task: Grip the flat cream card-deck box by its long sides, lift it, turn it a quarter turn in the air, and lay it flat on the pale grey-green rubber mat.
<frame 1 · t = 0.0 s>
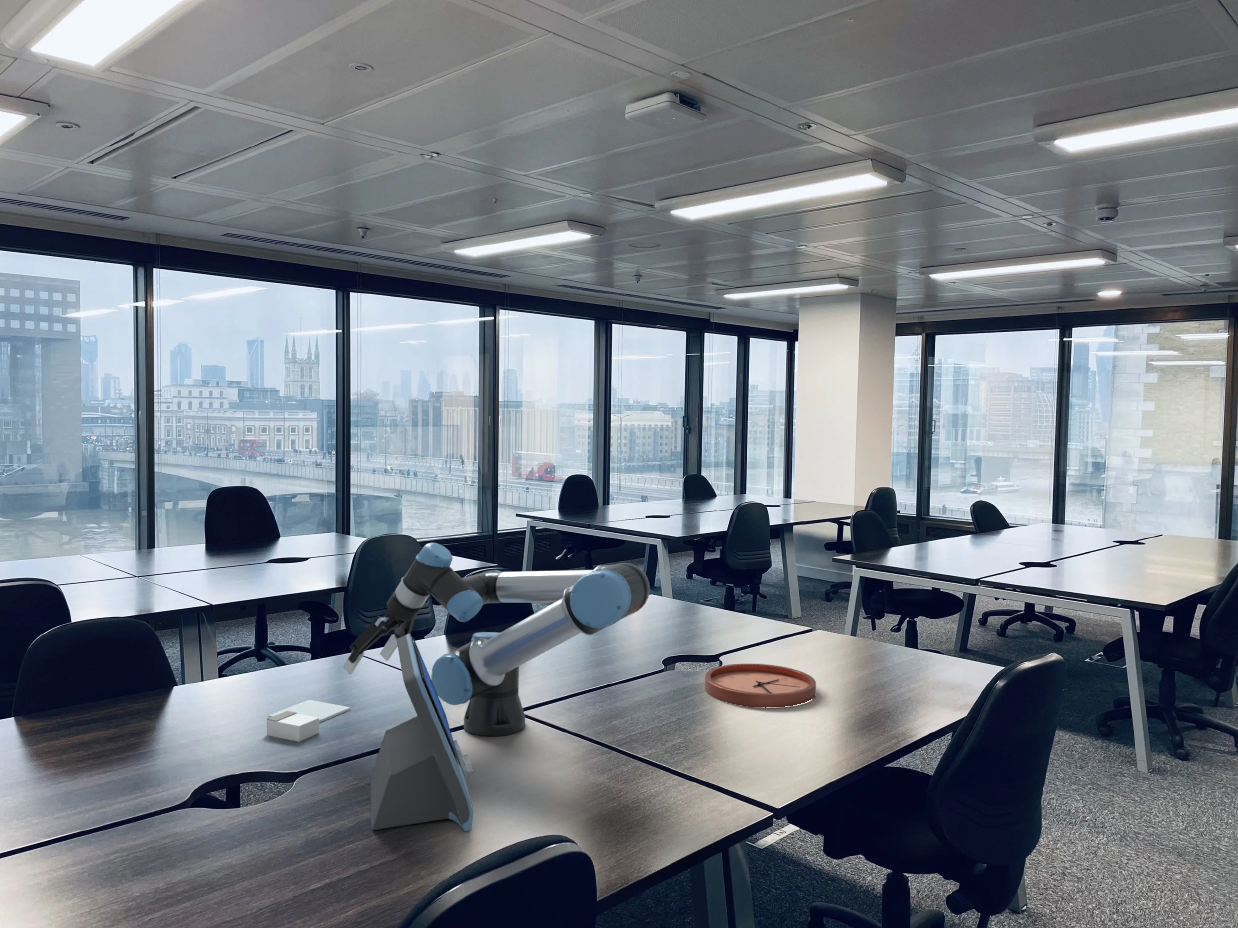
hand: (365, 663, 213), 15 cm above the table, tool tilted 35°, fingers open, 13 cm apart
card deck box: (293, 735, 206), on the table
touchscreen device: (421, 798, 172), on the table
clock: (759, 692, 247), on the table
mat: (310, 713, 221), on the table
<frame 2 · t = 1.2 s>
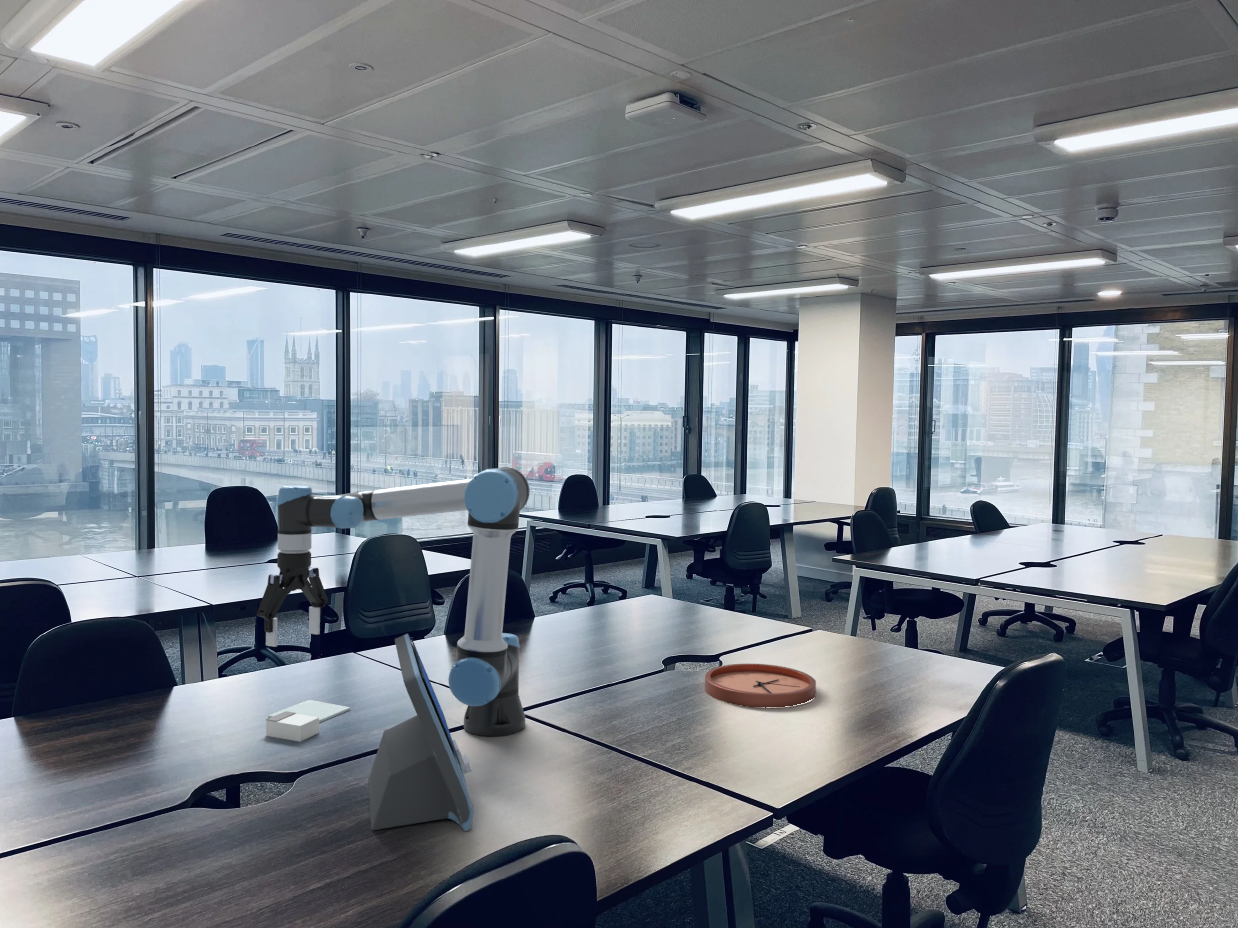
hand: (293, 639, 206), 23 cm above the table, tool pointing down, fingers open, 13 cm apart
nothing on the table moved.
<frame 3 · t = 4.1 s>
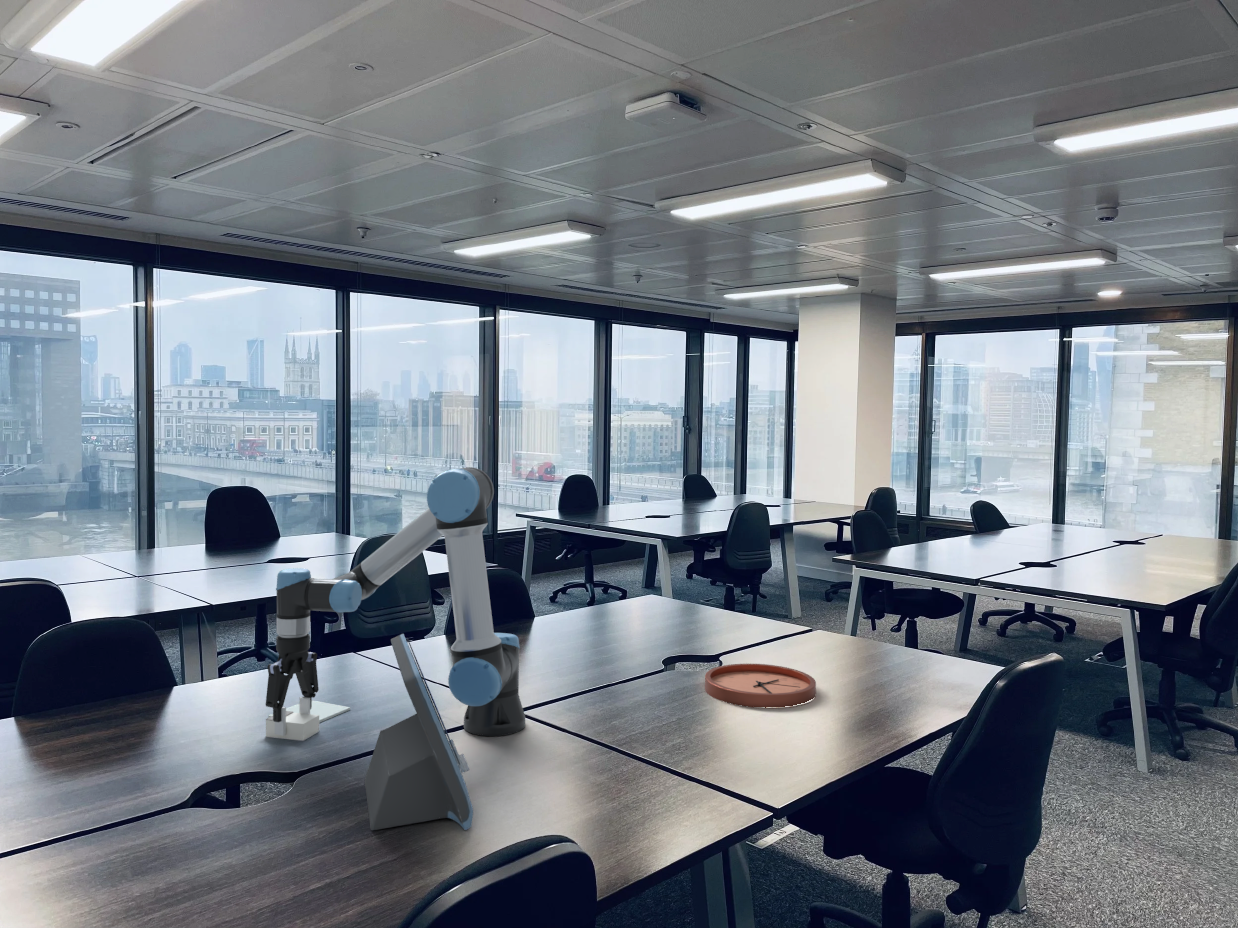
hand: (292, 728, 206), 1 cm above the table, tool pointing down, fingers closed on card deck box, 7 cm apart
card deck box: (292, 733, 206), on the table, touching gripper
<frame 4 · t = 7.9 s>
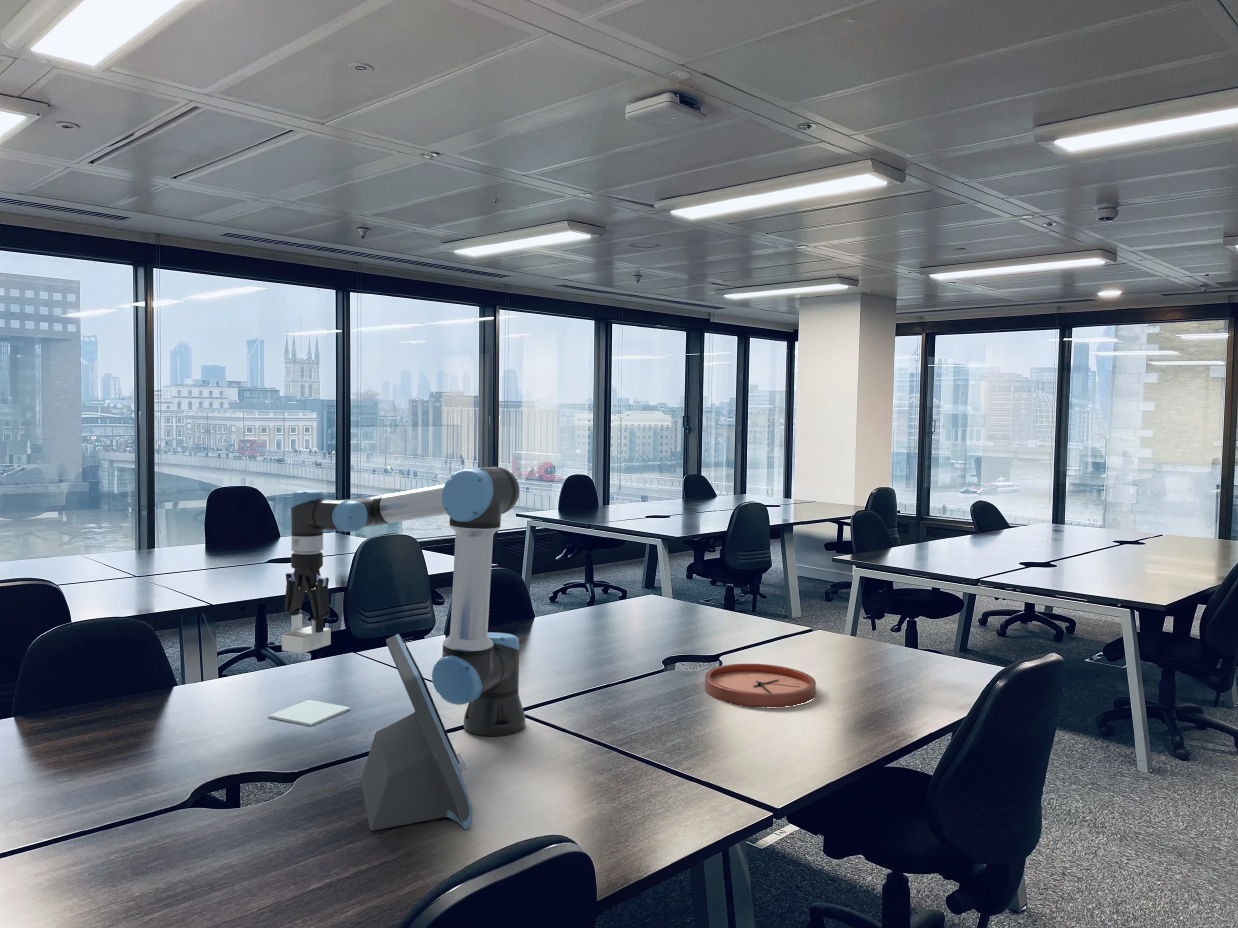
hand: (306, 642, 217), 19 cm above the table, tool pointing down, fingers closed on card deck box, 7 cm apart
card deck box: (306, 647, 217), point 18 cm above the table, touching gripper
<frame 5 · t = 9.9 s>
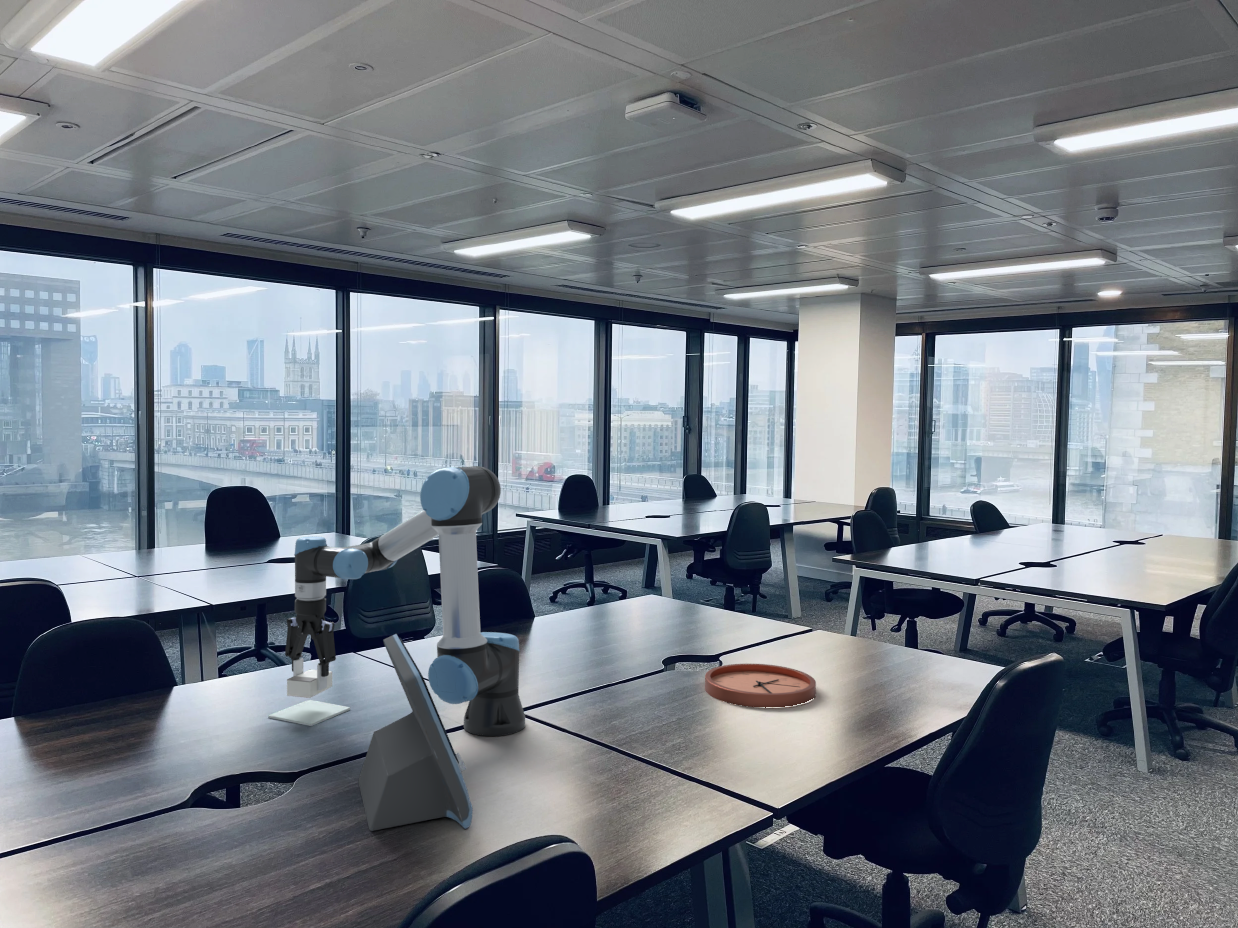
hand: (310, 686, 221), 7 cm above the table, tool pointing down, fingers closed on card deck box, 7 cm apart
card deck box: (310, 691, 221), point 6 cm above the table, touching gripper
when the fingers open (3 cm above the table, at t = 11.8 s): card deck box drops 1 cm, resting on mat.
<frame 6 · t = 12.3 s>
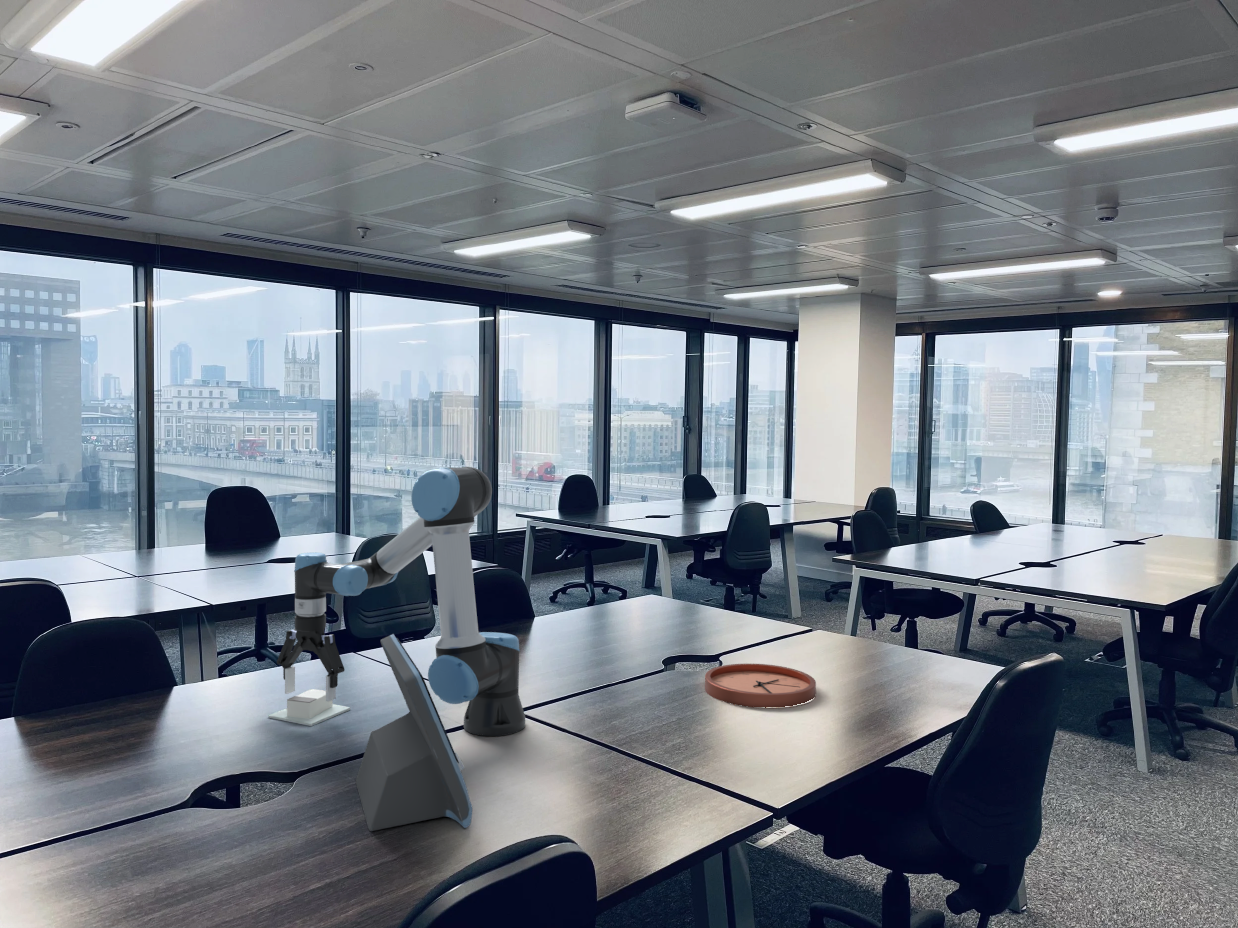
hand: (310, 696, 221), 4 cm above the table, tool pointing down, fingers open, 13 cm apart
card deck box: (310, 711, 221), point 1 cm above the table, touching mat
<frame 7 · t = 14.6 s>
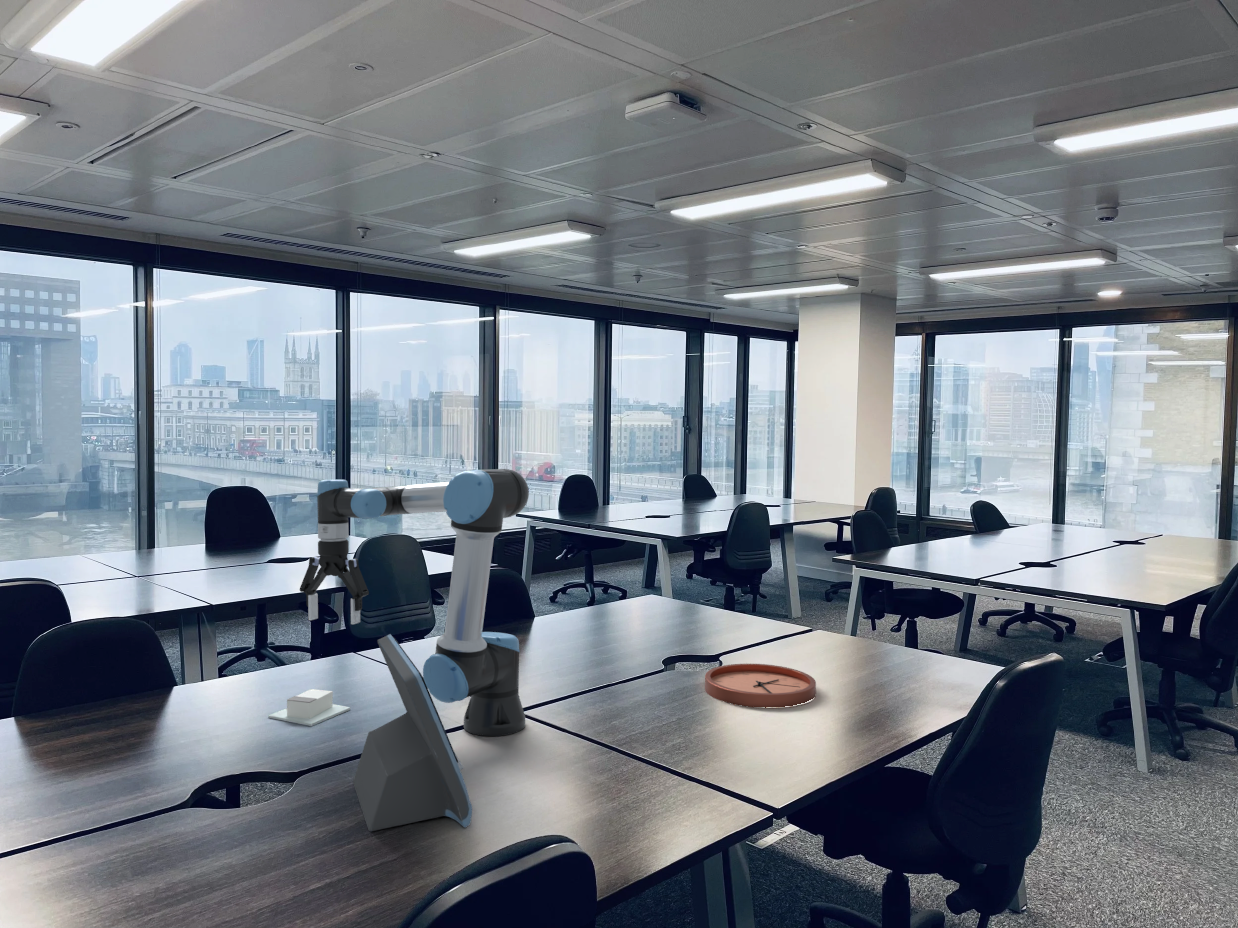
hand: (334, 621, 223), 23 cm above the table, tool pointing down, fingers open, 13 cm apart
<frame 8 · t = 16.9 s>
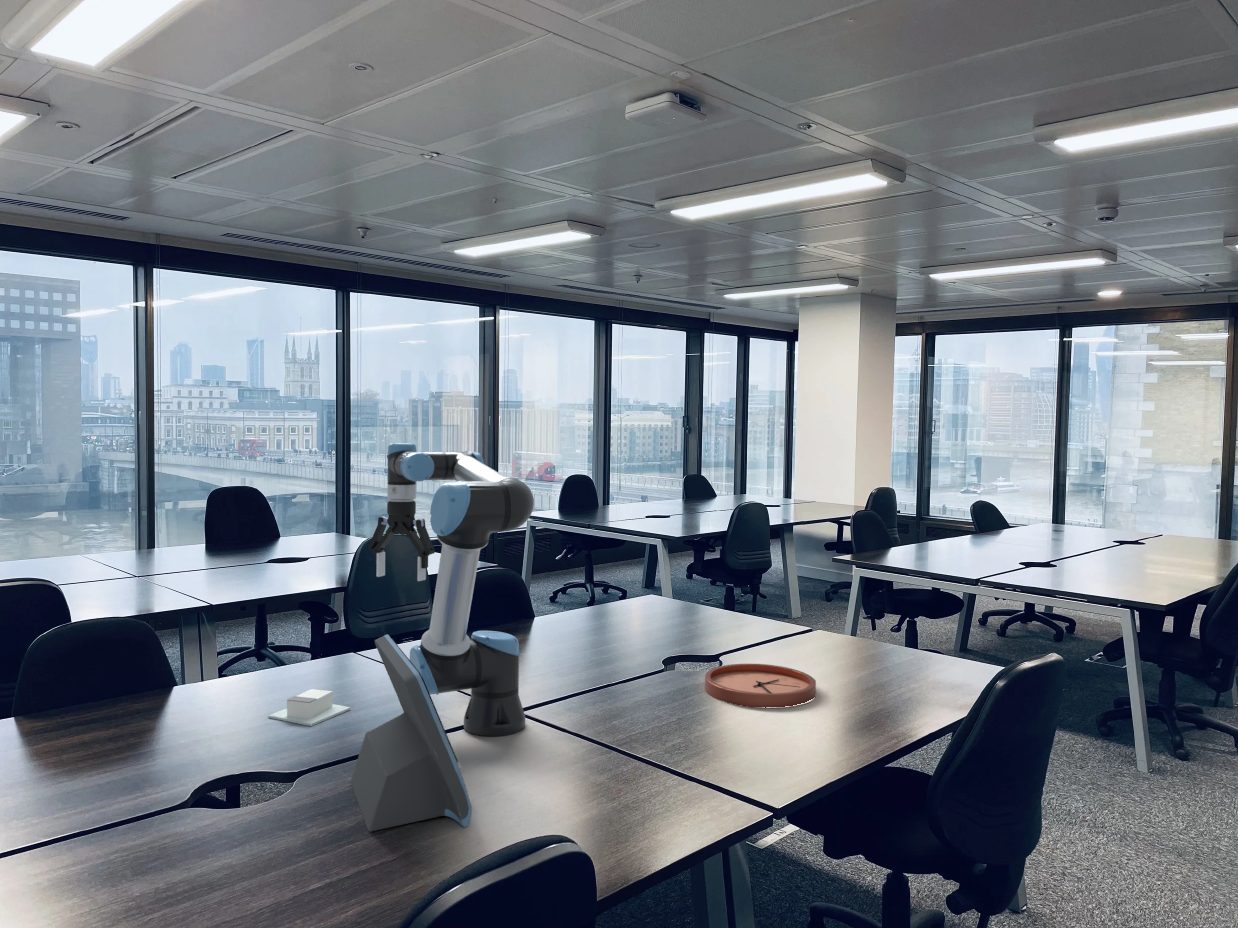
hand: (400, 578, 234), 33 cm above the table, tool pointing down, fingers open, 13 cm apart
at the end: card deck box inside the target area on the mat (0.0 cm from its centre), point 0.6 cm above the mat's base; card deck box tilted 0°; the gripper is holding nothing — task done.
